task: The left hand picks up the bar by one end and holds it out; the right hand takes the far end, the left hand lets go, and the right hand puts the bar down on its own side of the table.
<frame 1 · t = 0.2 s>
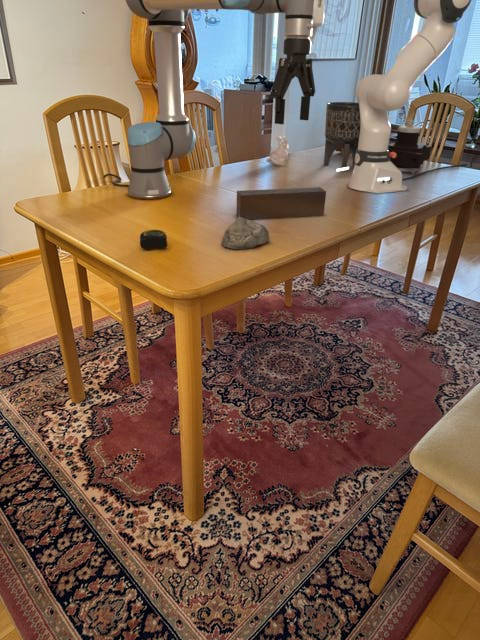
left hand: (292, 122, 135), 27 cm above the table, tool pointing down, fingers open, 13 cm apart
right hand: (304, 44, 147), 47 cm above the table, tool pointing down, fingers open, 8 cm apart
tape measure: (155, 248, 118), on the table
rock: (247, 244, 122), on the table
figurine: (277, 165, 212), on the table
bar: (280, 215, 144), on the table
planter: (341, 167, 211), on the table
toy: (345, 153, 242), on the table
mechanical component: (405, 169, 210), on the table
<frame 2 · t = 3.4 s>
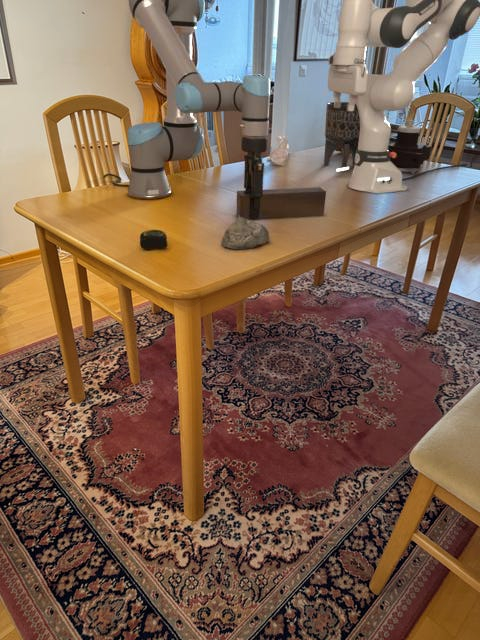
left hand: (252, 215, 142), 1 cm above the table, tool pointing down, fingers closed on bar, 5 cm apart
right hand: (343, 109, 143), 30 cm above the table, tool pointing down, fingers open, 8 cm apart
bar: (280, 215, 144), on the table, touching left hand
everything else where it was.
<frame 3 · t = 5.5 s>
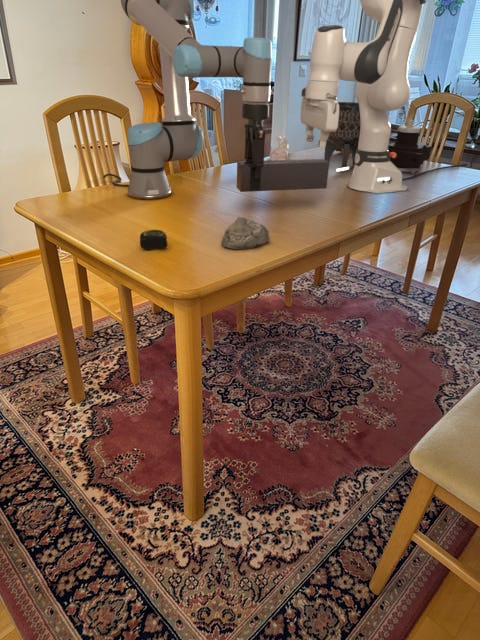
left hand: (252, 187, 137), 9 cm above the table, tool pointing down, fingers closed on bar, 5 cm apart
right hand: (315, 144, 136), 21 cm above the table, tool pointing down, fingers open, 8 cm apart
bar: (281, 188, 140), point 9 cm above the table, touching left hand
everything else where it was.
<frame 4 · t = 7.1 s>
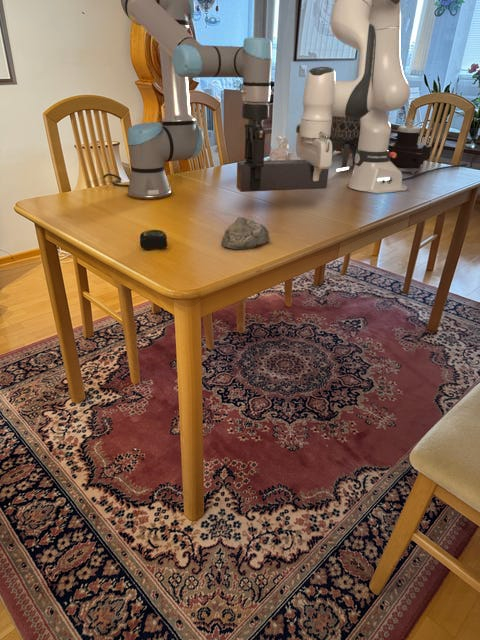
left hand: (252, 187, 137), 9 cm above the table, tool pointing down, fingers closed on bar, 5 cm apart
right hand: (311, 178, 140), 11 cm above the table, tool pointing down, fingers closed on bar, 5 cm apart
bar: (281, 188, 140), point 9 cm above the table, touching right hand, left hand
everything else where it was.
when the left hand's fingers open (9 cm above the table, at t = 8.1 s): bar stays where it is, held by the right hand.
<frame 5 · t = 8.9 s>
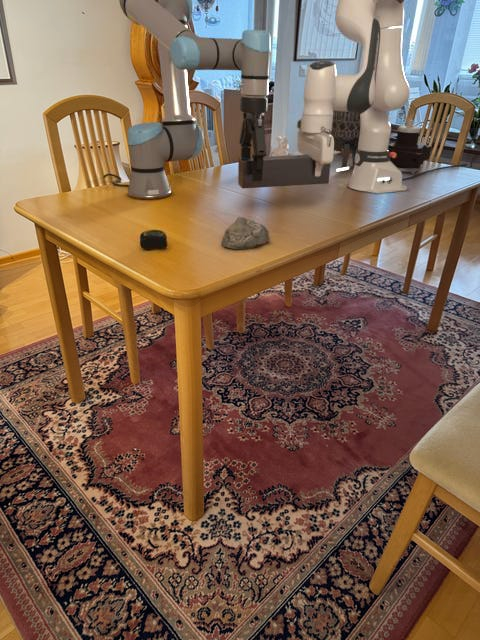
left hand: (250, 175, 136), 13 cm above the table, tool pointing down, fingers open, 13 cm apart
right hand: (312, 173, 140), 13 cm above the table, tool pointing down, fingers closed on bar, 5 cm apart
bar: (283, 184, 139), point 10 cm above the table, touching right hand
everything else where it was.
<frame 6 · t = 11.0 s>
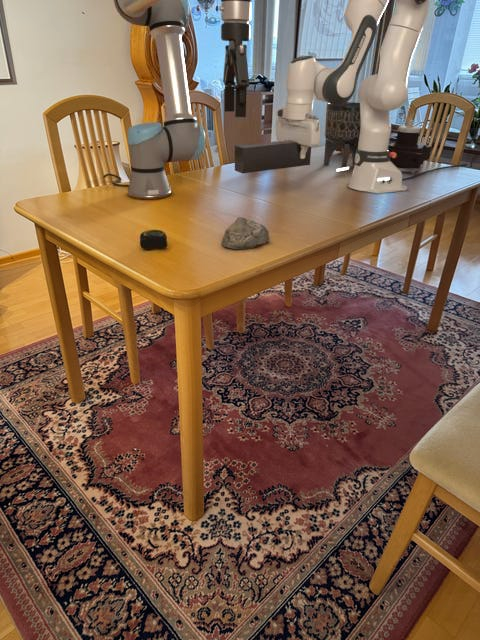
left hand: (234, 114, 126), 30 cm above the table, tool pointing down, fingers open, 13 cm apart
right hand: (295, 156, 156), 14 cm above the table, tool pointing down, fingers closed on bar, 5 cm apart
bar: (273, 167, 153), point 11 cm above the table, touching right hand
everything else where it was.
when the right hand's fingers open (4 cm above the table, at t = 15.1 s): bar drops 1 cm, on the table.
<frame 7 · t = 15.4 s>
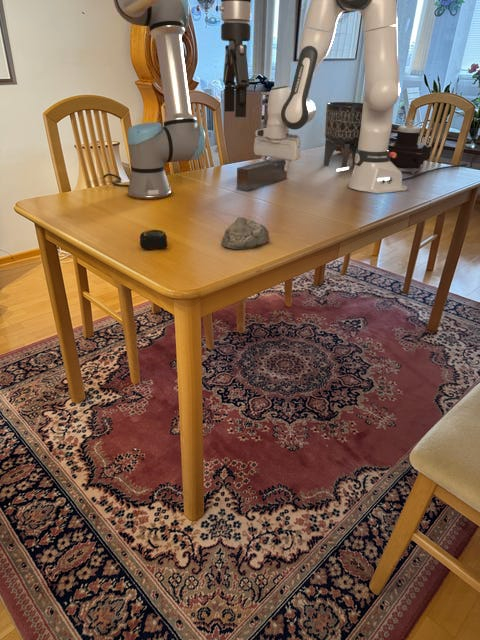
left hand: (234, 114, 126), 30 cm above the table, tool pointing down, fingers open, 13 cm apart
right hand: (275, 169, 184), 4 cm above the table, tool pointing down, fingers open, 8 cm apart
bar: (262, 183, 180), on the table
everything else where it was.
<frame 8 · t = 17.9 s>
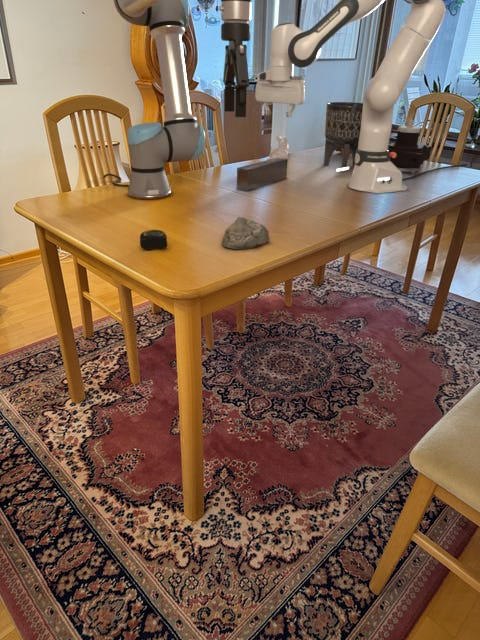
left hand: (234, 114, 126), 30 cm above the table, tool pointing down, fingers open, 13 cm apart
right hand: (278, 116, 174), 24 cm above the table, tool pointing down, fingers open, 8 cm apart
nothing on the table moved.
at the end: bar inside the target area (9.1 cm from its centre), on the table; the left hand is holding nothing; the right hand is holding nothing; bar at rest at the end (0.0 cm/s) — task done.
